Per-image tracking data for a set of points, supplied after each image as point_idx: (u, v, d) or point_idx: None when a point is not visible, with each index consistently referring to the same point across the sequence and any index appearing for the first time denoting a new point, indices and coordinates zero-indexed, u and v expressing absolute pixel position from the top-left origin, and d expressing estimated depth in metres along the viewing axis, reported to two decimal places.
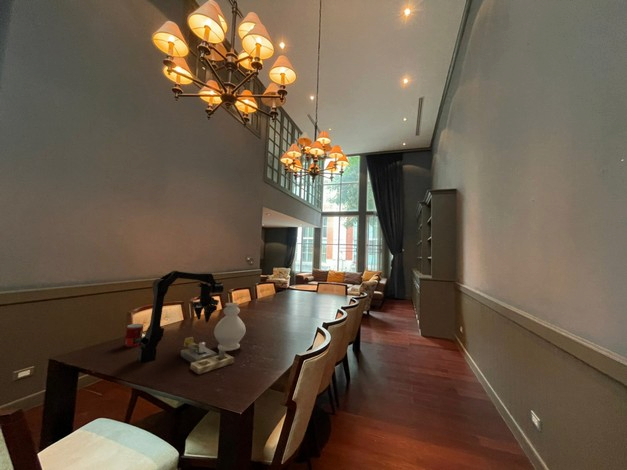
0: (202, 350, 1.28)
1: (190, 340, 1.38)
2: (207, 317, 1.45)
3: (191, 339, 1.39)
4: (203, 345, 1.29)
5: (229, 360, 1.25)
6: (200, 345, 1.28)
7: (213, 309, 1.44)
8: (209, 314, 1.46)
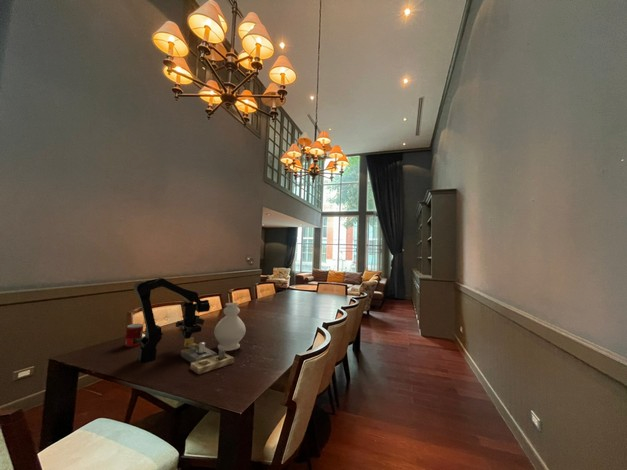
0: (202, 350, 1.28)
1: (190, 340, 1.38)
2: (187, 337, 1.39)
3: (191, 339, 1.39)
4: (203, 345, 1.29)
5: (229, 360, 1.25)
6: (200, 345, 1.28)
7: (197, 330, 1.35)
8: (189, 334, 1.40)
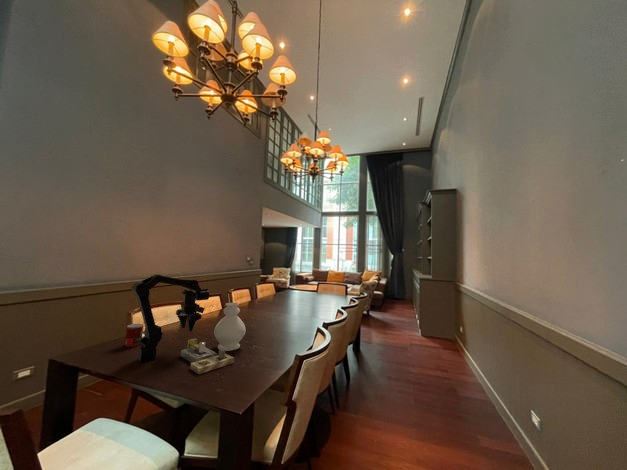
0: (202, 350, 1.28)
1: (193, 342, 1.36)
2: (191, 326, 1.38)
3: (194, 341, 1.37)
4: (203, 345, 1.29)
5: (229, 360, 1.25)
6: (200, 345, 1.28)
7: (197, 318, 1.37)
8: (193, 323, 1.38)
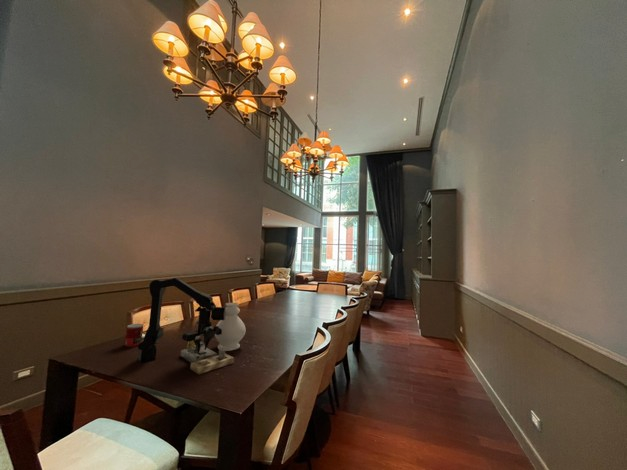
0: (202, 350, 1.28)
1: (193, 342, 1.36)
2: (196, 345, 1.28)
3: None
4: (203, 345, 1.29)
5: (229, 360, 1.25)
6: (200, 345, 1.28)
7: (185, 339, 1.23)
8: (197, 343, 1.27)
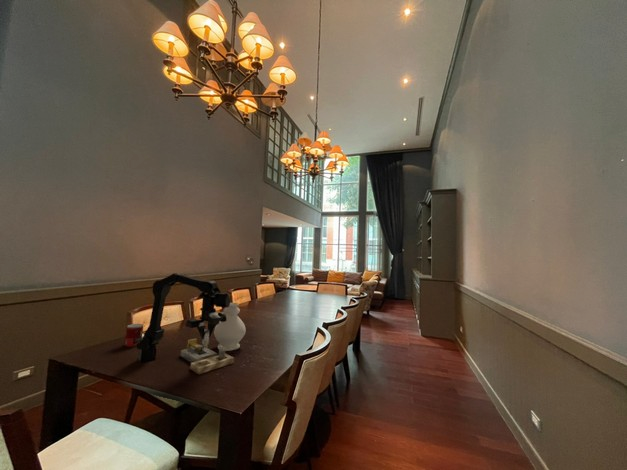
0: (206, 337, 1.23)
1: (193, 342, 1.36)
2: (200, 333, 1.22)
3: (194, 341, 1.37)
4: (207, 332, 1.23)
5: (229, 360, 1.25)
6: (204, 332, 1.23)
7: (189, 325, 1.17)
8: (201, 330, 1.22)
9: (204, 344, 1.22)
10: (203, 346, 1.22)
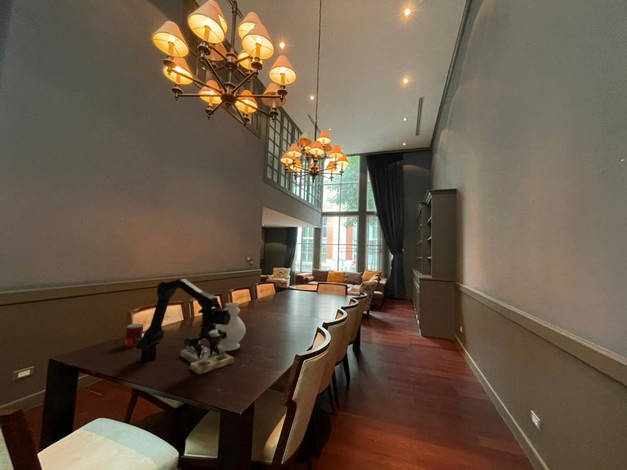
0: (205, 359, 1.18)
1: None
2: (196, 351, 1.16)
3: None
4: (206, 353, 1.18)
5: (229, 360, 1.25)
6: (203, 353, 1.18)
7: (187, 343, 1.12)
8: None
9: None
10: None
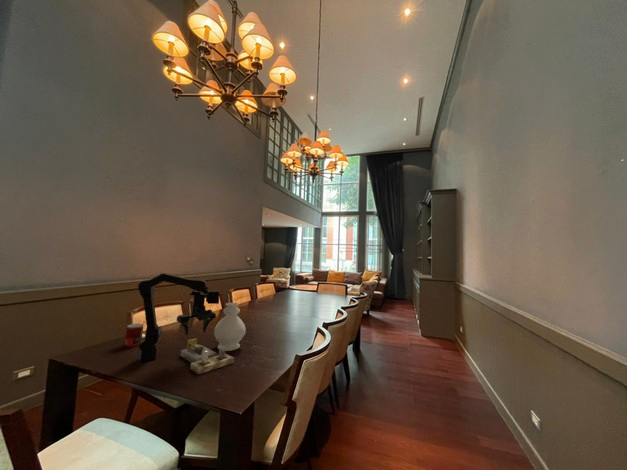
0: (205, 359, 1.18)
1: (193, 342, 1.36)
2: (184, 329, 1.29)
3: (194, 341, 1.37)
4: (206, 353, 1.18)
5: (229, 360, 1.25)
6: (203, 353, 1.18)
7: (179, 320, 1.26)
8: (185, 326, 1.29)
9: None
10: None
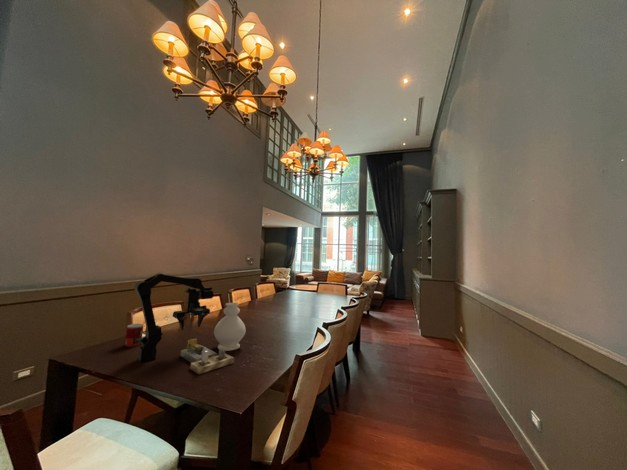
0: (205, 359, 1.18)
1: (193, 342, 1.36)
2: (180, 324, 1.37)
3: (194, 341, 1.37)
4: (206, 353, 1.18)
5: (229, 360, 1.25)
6: (203, 353, 1.18)
7: (175, 316, 1.34)
8: (181, 321, 1.36)
9: None
10: None
